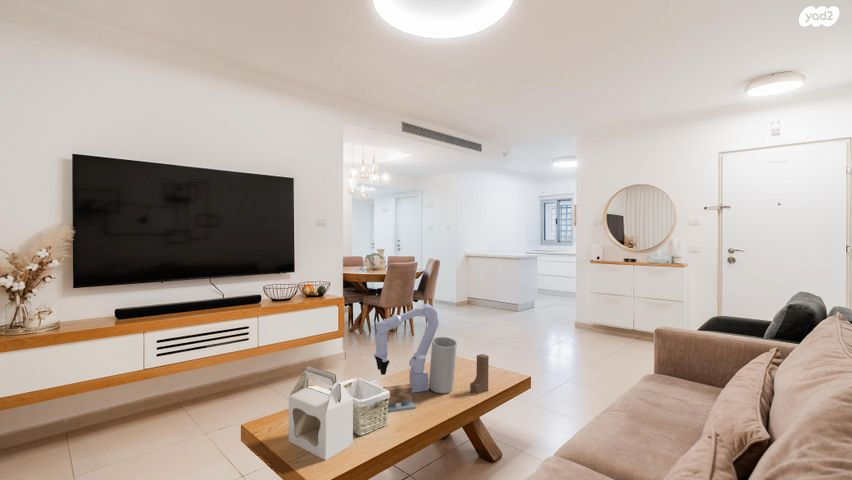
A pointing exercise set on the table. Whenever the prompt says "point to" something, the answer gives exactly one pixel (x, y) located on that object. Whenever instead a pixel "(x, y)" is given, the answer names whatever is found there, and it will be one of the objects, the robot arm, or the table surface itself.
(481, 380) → the wooden block
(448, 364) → the cylinder vase
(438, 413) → the table surface
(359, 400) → the storage basket
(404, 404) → the blue-grey flat rectangular panel
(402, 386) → the walnut plank
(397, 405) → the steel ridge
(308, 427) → the gable box
